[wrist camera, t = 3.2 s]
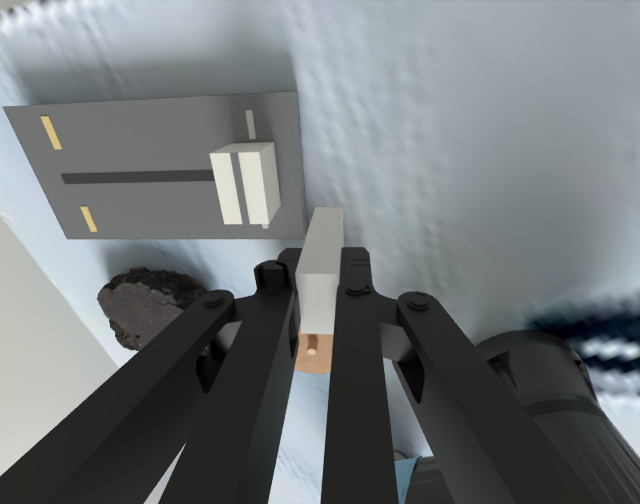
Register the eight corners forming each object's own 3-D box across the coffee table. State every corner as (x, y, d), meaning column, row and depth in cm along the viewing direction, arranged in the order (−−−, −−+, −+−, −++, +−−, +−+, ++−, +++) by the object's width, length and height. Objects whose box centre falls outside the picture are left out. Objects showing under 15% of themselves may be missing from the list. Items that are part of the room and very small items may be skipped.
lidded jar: (301, 336, 43) (289, 394, 35) (265, 277, 39) (242, 327, 31) (372, 316, 40) (377, 375, 32) (342, 250, 36) (339, 298, 28)
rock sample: (95, 289, 43) (66, 311, 39) (168, 238, 38) (144, 257, 34) (181, 366, 49) (165, 392, 45) (254, 331, 44) (244, 358, 40)
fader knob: (273, 142, 28) (258, 152, 23) (280, 204, 30) (268, 224, 26) (231, 143, 28) (208, 153, 24) (242, 205, 31) (223, 224, 26)
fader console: (297, 91, 28) (291, 91, 26) (307, 227, 35) (303, 239, 32) (31, 105, 31) (1, 106, 29) (86, 228, 38) (66, 239, 35)
